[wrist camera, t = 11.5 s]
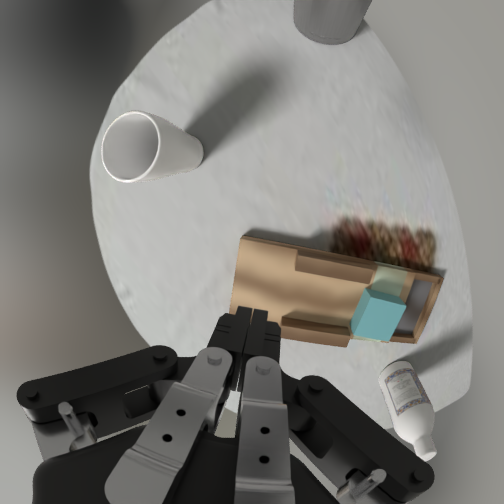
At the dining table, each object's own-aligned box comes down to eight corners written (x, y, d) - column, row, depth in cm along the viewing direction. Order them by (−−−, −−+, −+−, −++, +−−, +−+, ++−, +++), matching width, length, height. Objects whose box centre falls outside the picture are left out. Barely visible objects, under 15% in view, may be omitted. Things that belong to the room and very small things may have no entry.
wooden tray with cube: (242, 235, 37) (236, 243, 33) (439, 275, 35) (452, 285, 31) (231, 311, 41) (224, 326, 36) (413, 339, 39) (422, 353, 34)
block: (364, 287, 35) (370, 297, 32) (399, 296, 35) (406, 306, 32) (349, 323, 37) (353, 335, 34) (382, 330, 37) (388, 341, 34)
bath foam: (404, 385, 42) (435, 463, 23) (373, 388, 42) (397, 473, 23) (416, 358, 40) (457, 438, 21) (383, 360, 40) (418, 449, 21)
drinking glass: (173, 125, 34) (112, 105, 20) (216, 137, 34) (172, 116, 19) (158, 170, 36) (92, 173, 22) (200, 184, 36) (149, 192, 22)
